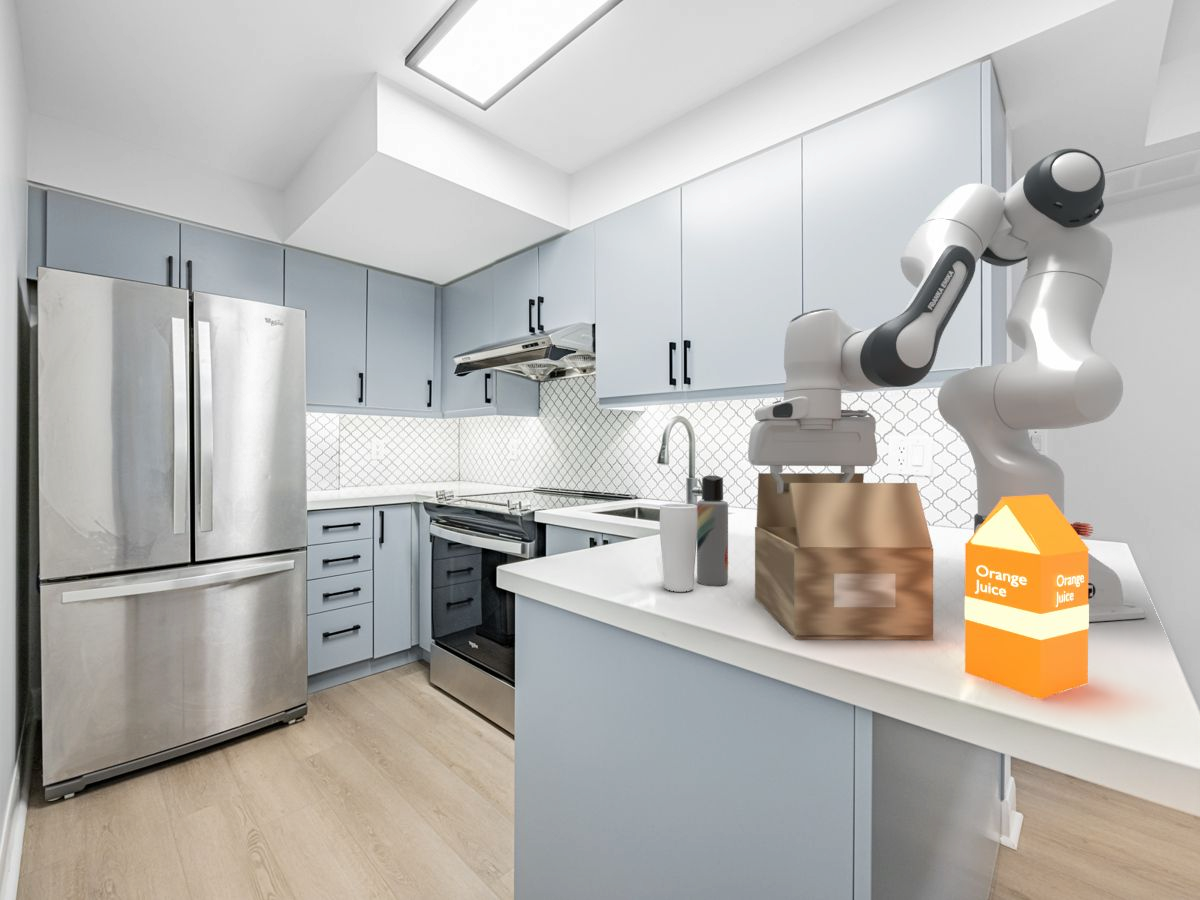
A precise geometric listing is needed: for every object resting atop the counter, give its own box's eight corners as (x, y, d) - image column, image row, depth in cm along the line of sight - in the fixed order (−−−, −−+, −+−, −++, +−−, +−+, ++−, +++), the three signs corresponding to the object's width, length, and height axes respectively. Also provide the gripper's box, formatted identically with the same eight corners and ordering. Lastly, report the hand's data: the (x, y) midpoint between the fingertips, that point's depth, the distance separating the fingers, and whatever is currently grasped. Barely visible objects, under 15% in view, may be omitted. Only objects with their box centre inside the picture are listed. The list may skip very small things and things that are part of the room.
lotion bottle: (725, 579, 107) (726, 475, 107) (729, 586, 101) (729, 476, 101) (696, 578, 107) (696, 475, 107) (698, 585, 102) (698, 476, 102)
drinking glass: (674, 582, 104) (674, 502, 104) (705, 589, 99) (705, 505, 99) (651, 589, 99) (651, 505, 99) (683, 596, 94) (683, 508, 94)
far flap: (860, 526, 93) (858, 525, 93) (863, 473, 92) (862, 473, 92) (757, 526, 93) (756, 525, 94) (759, 473, 92) (758, 473, 92)
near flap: (914, 484, 77) (916, 482, 76) (930, 548, 73) (932, 547, 72) (789, 484, 77) (790, 482, 76) (798, 548, 73) (800, 547, 73)
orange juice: (963, 671, 63) (963, 494, 63) (1011, 659, 66) (1011, 492, 66) (1042, 700, 56) (1042, 500, 55) (1090, 684, 59) (1091, 497, 59)
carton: (862, 598, 93) (862, 526, 93) (933, 640, 73) (933, 548, 73) (754, 598, 93) (754, 526, 93) (796, 639, 73) (796, 548, 73)
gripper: (866, 411, 94) (865, 492, 94) (745, 410, 94) (745, 492, 94) (885, 408, 88) (884, 495, 88) (756, 407, 88) (755, 495, 88)
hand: (811, 494), depth 91 cm, fingers open, 8 cm apart
